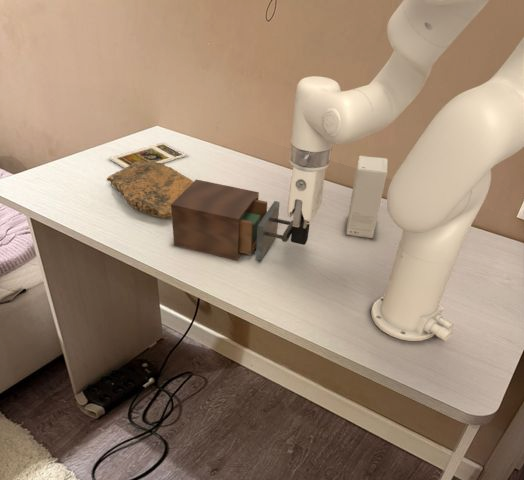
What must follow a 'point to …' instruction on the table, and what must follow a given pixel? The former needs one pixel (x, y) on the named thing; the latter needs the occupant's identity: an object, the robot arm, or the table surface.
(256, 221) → the block
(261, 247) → the drawer
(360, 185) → the white tower device
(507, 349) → the table surface
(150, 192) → the rock
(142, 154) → the trading card
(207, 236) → the cabinet
